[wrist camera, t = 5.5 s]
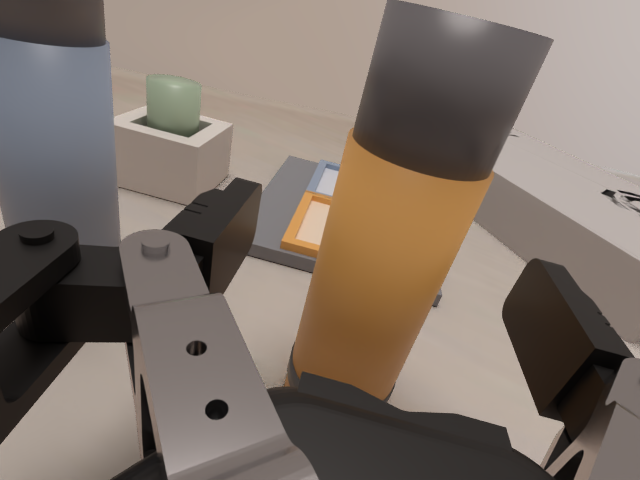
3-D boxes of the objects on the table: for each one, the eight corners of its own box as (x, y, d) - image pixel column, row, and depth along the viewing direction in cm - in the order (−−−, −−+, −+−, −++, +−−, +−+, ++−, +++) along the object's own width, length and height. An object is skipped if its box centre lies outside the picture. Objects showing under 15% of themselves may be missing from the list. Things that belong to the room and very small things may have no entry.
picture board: (227, 249, 22) (230, 230, 21) (287, 163, 35) (290, 150, 34) (436, 306, 21) (445, 288, 21) (418, 199, 34) (423, 185, 34)
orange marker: (270, 426, 14) (379, -7, 7) (294, 345, 17) (381, 0, 10) (379, 456, 13) (596, 47, 7) (381, 369, 17) (527, 37, 10)
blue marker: (-6, 299, 16) (-128, -132, 9) (64, 249, 19) (14, -91, 12) (87, 325, 15) (35, -91, 9) (141, 270, 19) (132, -60, 12)
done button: (137, 149, 25) (135, 78, 23) (162, 136, 28) (162, 72, 26) (184, 162, 25) (187, 92, 23) (205, 148, 28) (209, 84, 25)
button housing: (105, 183, 25) (100, 121, 23) (153, 155, 30) (153, 102, 28) (194, 207, 25) (198, 147, 23) (228, 175, 30) (233, 124, 28)
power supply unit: (485, 157, 56) (501, 122, 53) (766, 320, 31) (821, 270, 28) (372, 145, 48) (384, 104, 45) (621, 351, 23) (679, 285, 20)
